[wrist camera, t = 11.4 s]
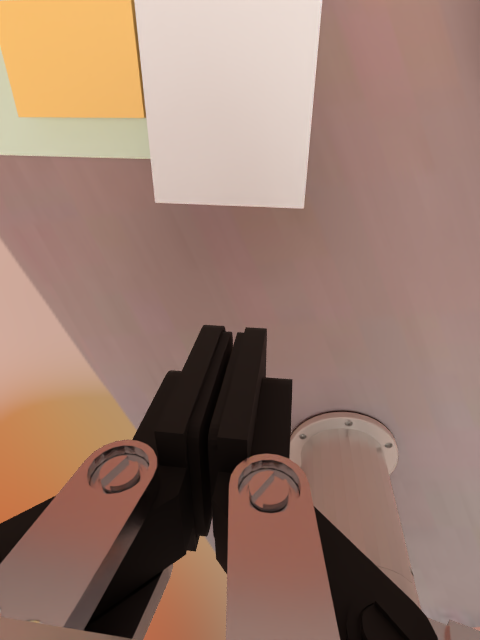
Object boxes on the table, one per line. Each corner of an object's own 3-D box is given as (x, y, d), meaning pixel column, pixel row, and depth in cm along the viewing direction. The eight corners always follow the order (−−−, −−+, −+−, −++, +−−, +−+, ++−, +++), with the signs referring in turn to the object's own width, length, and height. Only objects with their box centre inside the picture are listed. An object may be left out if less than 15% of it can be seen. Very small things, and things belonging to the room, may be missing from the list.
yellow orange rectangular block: (152, 116, 31) (144, 117, 29) (33, 115, 32) (18, 117, 30) (140, 2, 27) (130, -4, 25) (7, 6, 28) (-12, 0, 26)
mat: (157, 158, 32) (156, 159, 32) (1, 154, 34) (-1, 154, 34) (135, -73, 25) (133, -75, 25) (-62, -66, 27) (-65, -67, 27)
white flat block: (303, 200, 33) (303, 208, 30) (164, 195, 34) (155, 202, 32) (334, -153, 22) (337, -178, 20) (133, -141, 24) (117, -164, 22)
